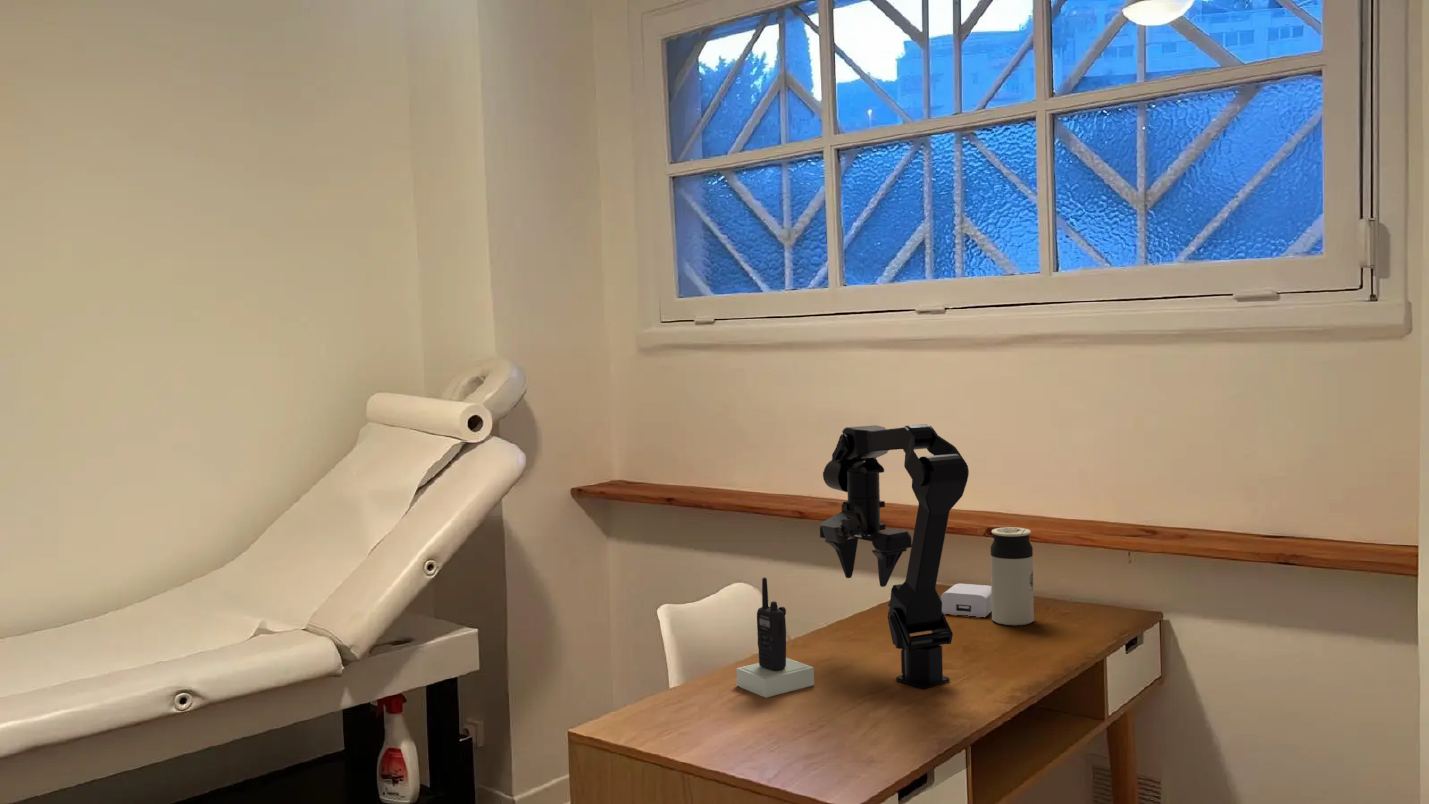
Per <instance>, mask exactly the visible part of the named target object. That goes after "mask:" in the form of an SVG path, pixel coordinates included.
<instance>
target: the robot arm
mask: <svg viewBox="0 0 1429 804" xmlns="http://www.w3.org/2000/svg"><path fill="white" fill-rule="evenodd" d="M841 432H842V433H841V435H840V436H839V439H838V441H837V444H836V447H835V448H834V451H833V452H832V454H831V455H832V456H831V460H830V461H828V462H827V464H826V465H825V467H824V469H823V471H822V477H823V481H824V483H825V484H826V485H827V486H828V487H829V488H830V489H832V490H837V491H841V492H845V493H847V501H843V502H842V504H841V512H839V513H836V514H834V515H831V517H829V518H827V519H825V520H824V521H823V522H822V523H820V524H821V525H820V527H819V538H821V539H824V542H825V543H826V544H828V545H830V546H831V547H832V548H833V549H834V550H835V552H836V554H837V557H838V560H839V563H840V564H841V568H842V571H843V573H844V576H845V578H846V579H851V578H853V573H854V568H855V562H856V561H855V560H856V555H857V548H858V542H859V540H862V541H868V542H871V545H872V546H873V548H874V549H873V550H871V552H872V553H873V555H874V556H875V557H876V558H877V570H878V571H877V573H878V581H879V586H880V587H882V588H884V587H886V586H887V585H888V582H889V580H890V578H891V576H892V573H893V571H894V569H895V567H896V565H897V563H898V561H899V560H900V558H901V556H902V555H903V553H904V552H907V550H908V549H910V553H909V558H908V559H909V560H908V566H907V570H906V571H907V572H906V577H905V580H904V582H903V583H899V584H893V585H892V588H891V590H890V599H889V602H888V604H887V607H889V609H888V613H887V620H888V621H887V622H888V626H889V632H890V637H891V640H892V644H893V645H894V646H895V648H896V649H898V650H901V651H900V656H901V657H900V659H901V660H900V662H901V668H900V669H901V675H897V676H895V680H896V681H899V682H902V683H903V684H908V685H911V686H913V687H917V688H919V689H925V688H930V687H933V686H937V685H940V684H944V683H947V682H950V681H951V678H950V677H948V676H944V675H943V674H944V673H943V646H942V645H951V644H952V640H953V636H954V635H953V634H954V633H953V631H952V629H951V626H950V625H949V623H948V621H947V619H946V617H945V614H943V612H942V601H941V596H940V594H939V593H938V591H937V589H936V587H937V581H938V577H939V576H938V575H939V570H940V565H941V559H942V554H943V550H944V543H945V538H946V532H947V527H948V522H949V516H950V511H951V510H952V509H953V507H954V506H955V505H956V504H957V503H958V502H959V501H960V500H961V498H962V497H963V496H964V493H965V489H966V487H967V483H968V479H969V475H970V473H969V472H970V471H969V466H968V463H967V462H966V460H965V459H964V458H963V456H962V454H961V453H960V451H959V450H958V449H957V447H956V446H954V445H953V444H952V443H950V442H949V441H948V440H945V439H944V438H943V437H941V436H939V435H938V433H937V432H936V430H935V429H934V427H932V425H928V424H925V423H924V424H912V425H910V424H909V425H904V426H903V427H896V428H886V427H884V426H880V425H876V424H875V425H874V424H873V425H863V426H862V425H861V426H850V427H849V426H847V427H845V428H843V430H842V431H841ZM894 450H903V452H904V453H905V455H904V465H903V466H904V469H905V470H906V472H907V474H908V475H909V477H910V478H911V489H912V492H913V493H914V496H915V498H916V501H918V507H917V513H916V518H915V519H916V520H915V523H914V524H915V525H914V530H913V535H912V534H911V533H909V532H908V531H907V530H901V529H896V528H892V529H888V530H886V523H883V522H882V523H881V508H886V503H885V502H886V501H885V500H881V497H880V493H881V492H880V490H881V489H880V473H885V469H884V467H883V465H882V464H880V463H879V461H878V459H877V458H880V457H881V456H884V455H887V454H888V452H889V451H894ZM915 450H927V451H928V452H929V453H930V454H932V455H926V456H925V455H924V456H920V457H919V456H918V455H917V454H916V452H915ZM912 536H913V537H912ZM926 632H927V633H926ZM928 632H930V633H928ZM920 633H921V634H920ZM922 633H924V634H922ZM912 634H918V635H912Z"/></svg>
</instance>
